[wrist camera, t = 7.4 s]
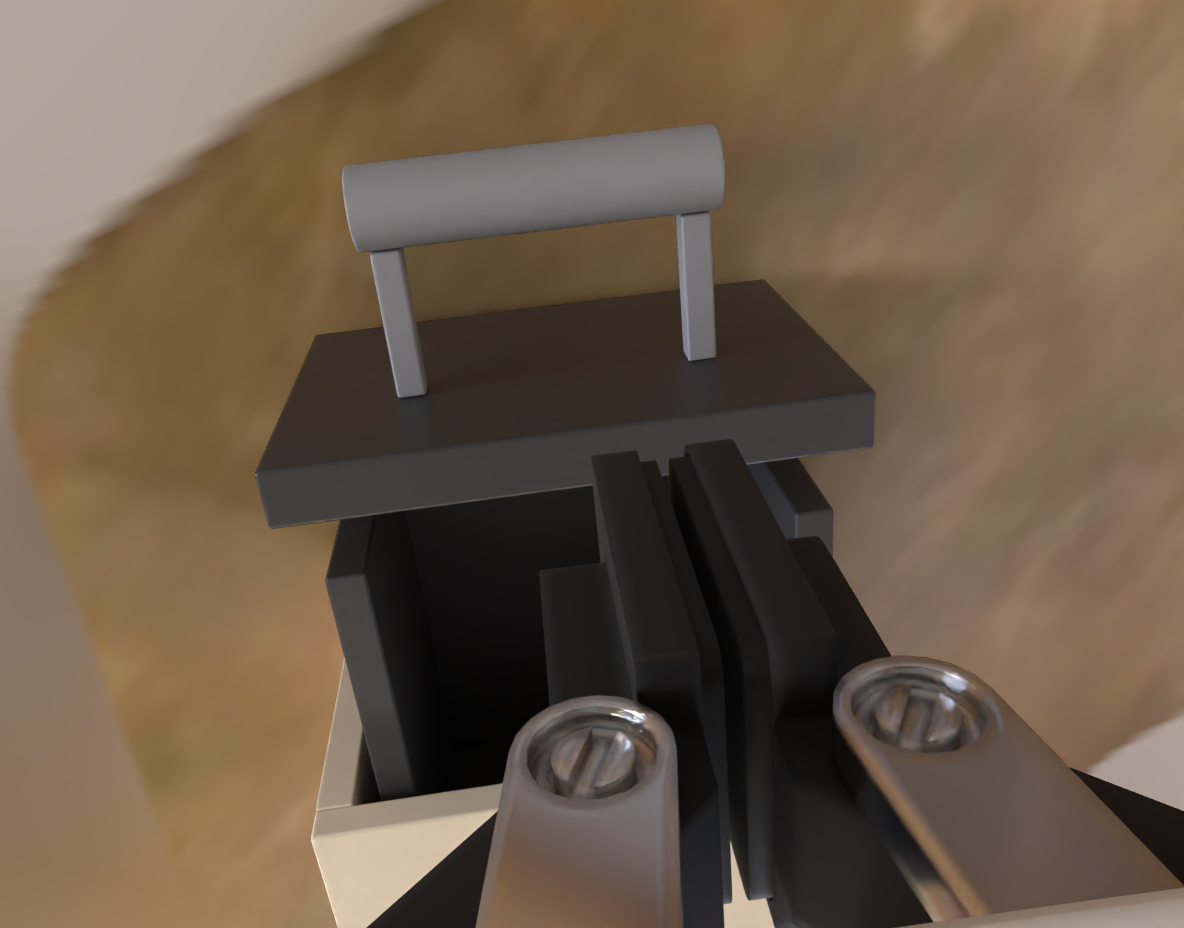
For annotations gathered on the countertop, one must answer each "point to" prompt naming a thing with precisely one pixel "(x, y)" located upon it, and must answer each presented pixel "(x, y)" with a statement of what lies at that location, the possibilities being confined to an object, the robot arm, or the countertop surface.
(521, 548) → the black drawer
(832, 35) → the countertop surface
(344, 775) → the cream drawer cabinet
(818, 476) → the countertop surface
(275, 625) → the countertop surface
